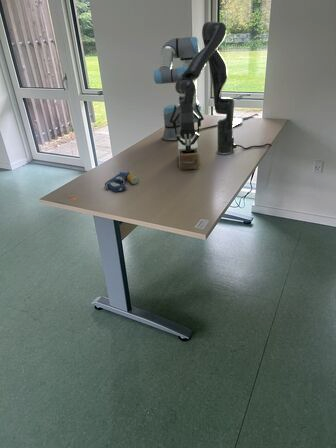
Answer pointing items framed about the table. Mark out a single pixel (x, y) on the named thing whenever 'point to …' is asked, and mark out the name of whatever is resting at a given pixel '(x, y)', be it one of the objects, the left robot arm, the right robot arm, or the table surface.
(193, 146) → the cabinet
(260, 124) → the table surface
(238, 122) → the spoon
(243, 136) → the table surface
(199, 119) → the left robot arm
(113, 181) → the spray gun
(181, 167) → the drawer
